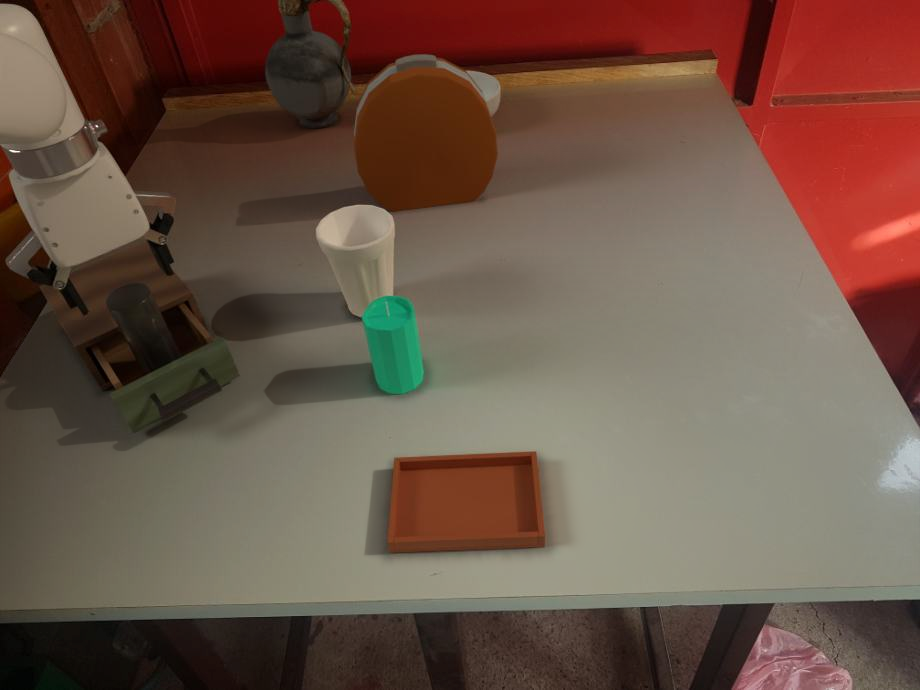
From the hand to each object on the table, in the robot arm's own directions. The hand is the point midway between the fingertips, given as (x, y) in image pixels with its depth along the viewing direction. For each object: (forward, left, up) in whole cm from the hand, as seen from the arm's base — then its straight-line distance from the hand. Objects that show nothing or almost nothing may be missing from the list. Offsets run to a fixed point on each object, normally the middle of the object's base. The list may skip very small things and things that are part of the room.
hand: (125, 288), depth 78 cm
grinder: (0, 0, -13) cm, 13 cm away
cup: (+27, -5, -15) cm, 31 cm away
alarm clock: (+51, +13, -15) cm, 55 cm away
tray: (+16, -39, -15) cm, 45 cm away
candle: (+22, -19, -15) cm, 33 cm away
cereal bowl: (+70, +29, -15) cm, 77 cm away
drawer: (0, -1, -14) cm, 14 cm away
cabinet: (0, +12, -15) cm, 19 cm away
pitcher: (+52, +49, -15) cm, 73 cm away
